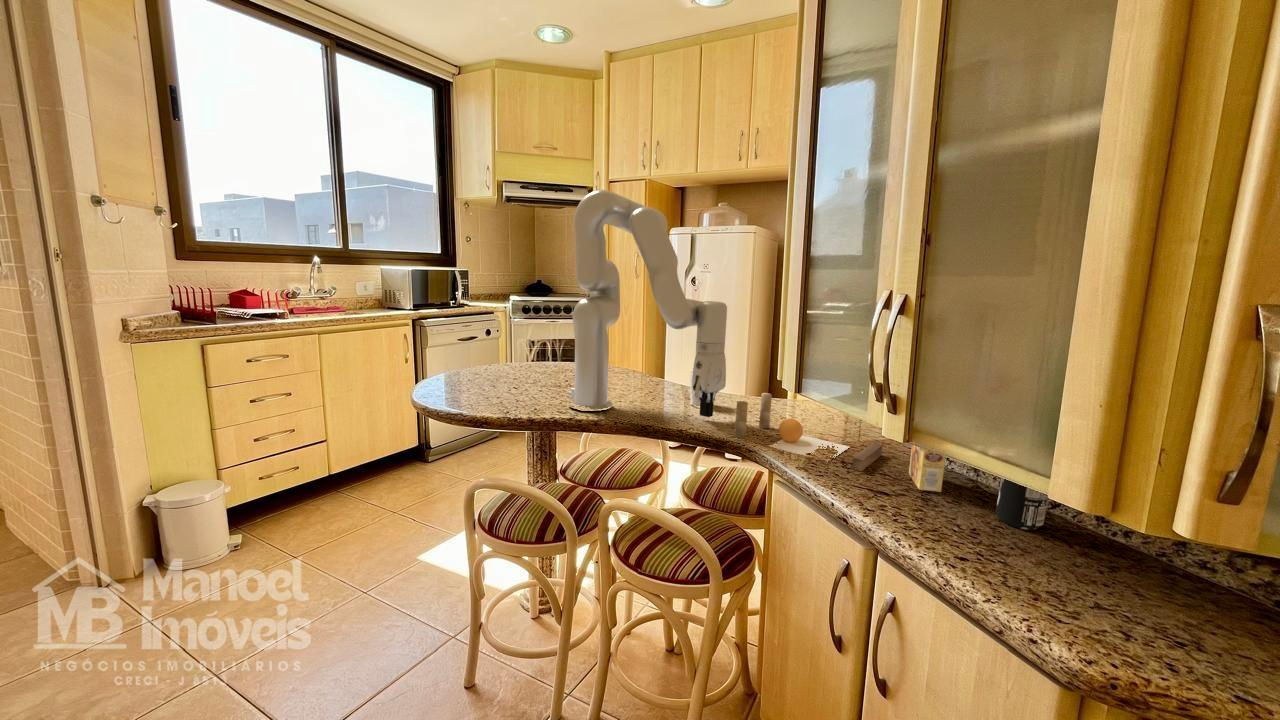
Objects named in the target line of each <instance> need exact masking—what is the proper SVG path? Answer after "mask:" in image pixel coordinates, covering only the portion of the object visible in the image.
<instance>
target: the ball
mask: <svg viewBox="0 0 1280 720" xmlns="http://www.w3.org/2000/svg"><path fill="white" fill-rule="evenodd" d="M803 432H804V429H803V425H802V424H801V423H800V421H798V420H797V419H794V418H786V419H784V420H783V421H782V422H780V424H779V426H778V435H779V436H780V438H781V440H782V439H783V440H785V441H787V442H795V441H797V440H799V439H800V438H801V436H802V435H803Z"/></svg>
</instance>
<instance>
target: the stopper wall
mask: <svg viewBox="0 0 1280 720" xmlns="http://www.w3.org/2000/svg"><path fill="white" fill-rule="evenodd" d="M883 446H884V445H883V444H881V443H879V442H878V443H876V442H872V443H871V444H869V445H868V446H867V447H866V448H864V449H863V450H861V451H860V452H858V454H856V455H854V456H853V457H852V464H851V470H853V469H855V470H854V471H857V470H858V472H861V471H862V472H863V471H864V470H865V469H866V467H867V468H868V467H869V466H871V464H872V463H874V462H875V461H876V460H877V459H879V458H880V457H881V456H883V455H882V453H883Z"/></svg>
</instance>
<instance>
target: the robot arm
mask: <svg viewBox="0 0 1280 720" xmlns="http://www.w3.org/2000/svg"><path fill="white" fill-rule="evenodd" d="M573 218H574V219H573V220H574V221H573V231H574V255H575V256H574V262H575V264H574V265H575V281H576V284H577V285H578V287H579V288H580V289H581V290H583V291H586V292H588V293H589V296H588V297H584V298H582V299H581V300H579V301H578V302H577V303H576V304H575V306H574V309H573V312H572V326H573V331H574V387H571V388H570V389H569V390H568V391H567V392H566V395H567V396H571V400H572V401H574V403H575V404H577V405H580V406H585V407H589V408H590V409H603V408H608V407H611V406H612V405H613V402H612V401H611V400H609V399H608V393H609V392H608V390H609V348H610V347H609V346H610V345H609V335H608V328H610V327H612V326H614V325H615V324H616V323H617V322H618V320H619V319H620V314H621V313H620V312H621V288H620V287H621V284H620V282H621V281H620V273H619V270H618V267H617V266H616V264H615V263H614V262H613V261H612V260H611V259H608V258H607V241H606V235H605V230H604V228H605V227H604V226H605V225H608V226H613V227H616V228H618V229H620V230H622V231H625V232H628V233H630V234H631V235H632V236H633V240H634V241H635V243H636V246H637V248H638V251H639V253H640V255H641V258H642V260H643V263H644V265H645V267H646V269H647V272H648V279H649V283H650V287H651V290H652V293H653V297H654V300H655V303H656V305H657V307H658V310H659V313H660V314H661V316H662V319H663V320H664V322H665V323H666V325H668V327H670V328H672V329H675V330H684V329H686V328H690V327H696V338H695V339H696V343H695V355H694V357H695V358H694V361H693V368H692V371H693V376H692V388H693V390H694V391H695V394H694V396H695V397H699V401H700V408H699V415H700V416H701V417H706V418H711V417H713V416H714V403H715V400H716V395H717V394H718V393H719V392H721V391H722V390H724V389H725V388H726V384H727V383H726V381H727V379H726V378H727V363H726V361H727V360H726V354H725V349H726V347H725V346H726V331H727V321H728V320H727V319H728V318H727V317H728V306H727V304H726V303H725V302H723V301H716V300H715V301H713V300H711V301H710V300H707V301H705V300H704V301H702V300H701V301H700V300H697V299H696V300H695V299H690V298H686V295H685V294H684V291H683V289H682V286H681V282H680V280H679V275H678V267H679V266H678V264H679V260H678V256H677V253H676V251H675V249H674V247H673V244H672V242H671V239H670V238H669V235H668V227H669V225H668V224H669V223H668V219H667V218H666V216H665V215H664V214H663V213H662V212H661V211H660V210H657V209H656V208H653V207H650V206H646V205H643V204H641V203H639V202H636V201H633V200H631V199H629V198H627V197H624V196H622V195H620V194H618V193H616V192H614V191H610V190H607V189H598V190H594V191H591V192H589V193H588V194H587V195H585V196H584V197H583V198H582V199H581V200H580V201H579V203H578V205H577V207H576V208H575V212H574V217H573ZM712 401H713V402H712ZM612 407H613V406H612Z"/></svg>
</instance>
